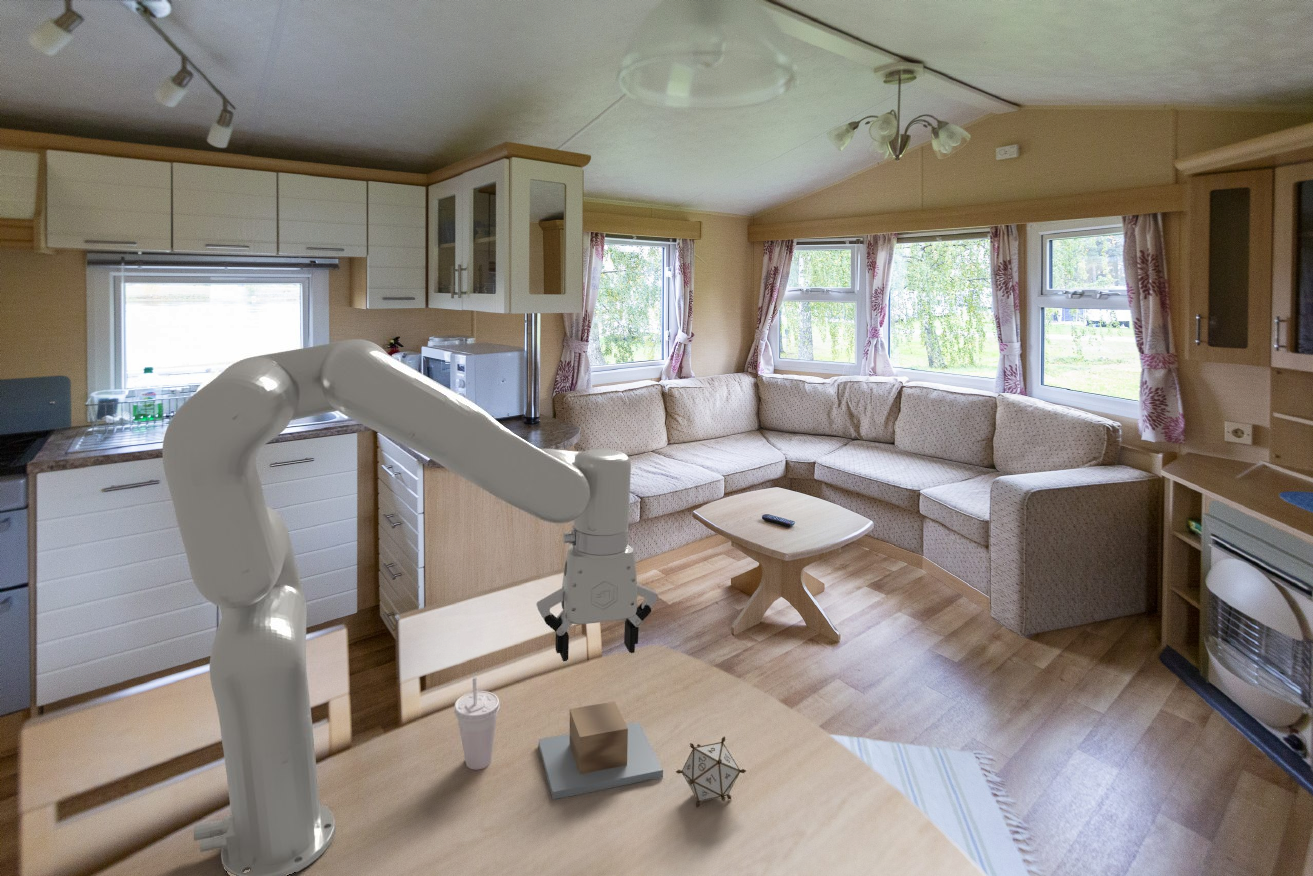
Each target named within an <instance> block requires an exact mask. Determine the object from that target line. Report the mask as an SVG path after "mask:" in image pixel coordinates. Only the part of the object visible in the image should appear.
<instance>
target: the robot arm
mask: <svg viewBox="0 0 1313 876" xmlns="http://www.w3.org/2000/svg"><path fill="white" fill-rule="evenodd" d="M337 411H338V412H339V413H340V414H341V415H344V416H346V417H347V418H349V419H351V420H353V421H355V422H357V423H359V424H361V425H363V426H365V427H367V428H369V429H370V430H373V431H374V432H377V433H379V434H380V435H381V434H382V435H383V436H385V437H386V438H389V439H391V440H393V441H395V442H396V443H399V444H401V445H403V446H405V447H407V448H408V449H411V450H413V451H415V452H417V453H419V454H421V455H422V456H425V457H427V458H428V459H431V460H432V461H433V462H435V463H437V464H439V465H440V466H442V467H443V468H445V469H446V470H448V471H450V472H451V473H453V474H455V475H457V476H459V477H461V478H463V479H465V480H466V481H469V483H472V484H473V485H475V486H477V487H478V488H480V489H482V490H483V491H485V492H487V493H489V494H491V495H492V496H494V497H496V498H498V499H499V500H501V501H503V502H505V503H507V504H509V505H511V506H513V507H515V508H517V509H518V510H521V511H523V512H525V513H527V514H529V515H531V516H533V517H535V518H536V519H539V520H541V521H544V522H546V523H550V524H556V525H557V524H560V525H561V524H567V523H570V522H572V521H573V525H572V526H571V527H572V529H571V531H568V532H566V533H563V534H562V542H563V544H569V545H570V546H568V551H567V554H566V557H565V561H564V563H565V564H564V568H563V574H562V585H561V587H560V588H559V589H558V590H555V591H554V592H552V593H551V594H549V595H547V596H545V597H544V598H542V599H540V600H539V601H537V602H536V607H537V610H538V612H539V614H540V615H541V618H542V619H543V621H544V623H545V624H546V625H547V626H549V628H550V629H552V630H553V631H554V632H555V647H554V648H555V652H556V654H559V655H560V657H561V660H562V661H563V662H567V661H568V660H569V647H570V646H569V645H570V643H569V641H570V640H569V639H570V635H569V633H568V630H569V629H570V627H571V626H573V624H574V625H587V624H597V623H598V624H599V623H605V622H606V623H607V622H617V621H624V634H623V635H624V637H623V644H624V646H625V647H626V649H627V651H628V653H630V654H635V652H636V651H635V650H636V645H638V644H639V630H640V629H639V628H640V627H641V626H642V625H643V621H644V620H645V619H646V618H647V617H648V616H649V615H650V614H651V613H652V609H653V607H654V606H655V604H656V602H657V600H658V599H659V595H658V593H657V592H656V591H655V590H654V589H651V588H649V587H647V586H644V585H641V584H640V583H638V581H637V578H638V577H637V565H636V556H635V552H634V548H633V547H632V546H631V545H630V544H629V542H628V541H629V523H630V522H629V521H630V520H629V519H630V518H629V517H630V498H631V497H630V496H631V474H632V473H631V472H632V463H631V459H630V458H629V456H628V455H627V454H626V453H625V452H622V451H619V450H616V449H610V448H593V449H588V450H584V451H581V450H580V451H577V450H565V449H557V448H538V447H536V446H535V445H533V444H531V442H528V441H526V440H525V439H524V438H521V437H520V436H518V435H517V434H515V433H514V432H513V431H511V430H510V429H508V428H506V427H505V426H504V425H503V424H501V423H500V422H499V421H498V420H496V419H495V418H494V417H493V416H491V414H489V413H488V412H487V411H486V410H485V409H483V407H480V406H479V405H477V404H476V403H474V402H473V401H472V400H470V399H469V398H467V397H466V396H463V395H461V394H459V393H457V392H455V391H454V390H452V389H451V388H449V387H446V386H444V385H443V384H441V383H439V382H437V381H435V380H434V379H432V378H430V377H428V376H427V375H426V374H423V373H421V372H419V371H418V370H416V369H415V368H413V367H412V366H409V365H408V364H406V363H404V362H402V361H400V360H399V359H397V358H395V357H393V356H392V355H390V354H388V353H387V352H386V351H385V350H384V349H383V348H382V347H381V346H380V345H378V344H376V343H374V342H372V341H369V340H366V339H360V338H352V339H345V340H339V341H336V342H335V341H334V342H330V343H326V344H325V343H324V344H321V345H315V346H314V345H313V346H308V347H302V348H298V349H297V348H296V349H293V350H291V349H290V350H285V351H280V352H275V353H266V354H262V355H257V356H251V357H246V358H243V359H241V360H239V361H237V362H235V363H233V364H231V365H229V366H228V367H227V368H226V369H224V370H223V371H222V372H221V373H219V374H218V375H217V376H216V377H215V378H214V379H212V380H211V381H210V382H208V384H206V385H204V386H203V387H202V388H200V389H199V390H198V391H197V392H195V393H194V394H193V395H192V396H190V398H188V399H187V400H186V401H185V402H184V403H183V404H182V405H181V406H180V407H179V408H178V409H177V411H175V413H174V414H173V416H172V417H171V420H170V421H169V423H168V424H167V425H168V426H167V428H166V431H165V434H164V437H163V440H162V464H163V469H164V470H163V471H164V474H165V478H166V481H167V486H168V490H169V493H170V495H171V496H170V497H171V501H172V504H173V508H174V514H175V517H176V521H177V524H178V525H177V526H178V529H179V533H180V537H181V539H182V543H183V547H184V551H185V553H186V559H187V563H188V566H189V571H190V575H191V577H192V580H193V584H194V586H195V588H197V589H196V590H198V592H199V594H200V595H201V596H202V597H203V598H204V599H205V600H206V601H208V602H209V603H211V604H213V605H215V606H217V607H219V609H220V613H221V619H220V622H219V625H218V627H217V630H216V632H215V636H214V639H213V643H212V646H211V650H210V651H211V652H210V657H209V680H210V685H211V690H212V693H213V697H214V702H215V706H216V710H217V715H218V721H219V728H220V736H221V744H222V749H223V758H224V765H225V773H226V782H227V789H228V791H227V792H228V799H229V806H230V815H229V814H228V815H225V816H224V819H220V820H216V821H215V820H214V821H213V820H210V821H206V822H199V823H196V824H195V825H194V830H193V841H194V842H199V841H200V843H199V851H200V853H204V852H208V851H213V850H217V849H220V848H221V853H220V854H221V855H220V858H221V865H222V864H223V866H224V867H225V869H226V870H227V871H228V872H230V873H231V874H234V875H236V876H286V875H287V874H291V873H294V872H296V873H298V872H300V871H301V870H303V869H305V868H306V867H308V866H310V865H311V864H312V863H314V861H316V860H317V859H319V857H321V856H322V855H323V853H324V852H325V851H326V850H327V848H328V847H329V845H330V844H331V843H332V841H333V838H334V836H335V832H336V821H335V816H334V814H333V812H332V811H331V809H330V808H329V807H327V806H326V805H325V804H323V803H321V802H320V797H319V783H318V773H317V772H318V771H317V762H316V750H315V739H314V728H313V719H312V708H311V700H310V689H309V681H308V673H307V655H306V654H307V651H306V646H307V645H306V642H307V641H306V640H307V620H308V619H307V617H308V613H307V612H308V610H307V608H308V607H307V602H306V596H305V593H304V589H303V585H302V582H301V581H302V580H301V576H300V573H299V569H298V564H297V560H296V556H295V553H294V548H293V544H292V540H291V537H290V533H289V529H288V528H287V524H286V523H285V521H284V520H283V518H282V517H281V516H280V514H279V513H278V512H277V511H276V510H275V509H274V508H272V507H270V506H268V505H266V500H265V497H264V492H263V486H262V482H261V479H260V476H259V472H258V470H257V463H256V461H257V460H256V459H257V456H258V453H259V452H260V450H261V449H262V448H263V447H264V446H265V445H267V444H268V443H269V442H271V441H272V440H274V439H275V438H277V437H278V436H279V435H280V434H282V433H283V431H285V430H286V428H288V426H289V424H291V423H290V422H291V421H295V420H296V421H297V420H300V419H305V418H309V417H315V416H320V415H324V414H328V413H334V412H337ZM638 596H639V597H642V598H644V599H643V602H641V603H640V604H639V606H638ZM560 603H561V609H562V610H561V612H560V613H559V614H558V615H557V616H556V615H554V614H553V613H552V612H551V611H550V610H551V609H552V608H553V607H554V606H556V605H558V604H560ZM223 866H222V867H223ZM249 869H250V871H249V872H247V873H243V872H244V871H245V870H249ZM294 874H295V873H294Z"/></svg>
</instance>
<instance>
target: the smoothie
mask: <svg viewBox="0 0 1313 876" xmlns="http://www.w3.org/2000/svg"><path fill="white" fill-rule="evenodd" d="M477 683H478V682H477V677H476V676H473V677H472V692H467V693H465V694H463V695H462V696H460V697H459V698H457V700H456V701H455V702H454V709H453V710H454V712H453V713H454V715H455V716H456V718H457V721H458V727H459V733H460V738H461V744H462V750H463V754H464V755H463V756H464V761H465V765H466V767H467V768H468V769H470V770H473V771H474V770H476V771H478V770H482V769H485V768H487V767H488V766H489V765H490V764H491V763H492V761H493V760H492V758H493V752H494V751H493V750H494V744H495V743H494V741H495V732H496V723H497V722H496V721H497V714H498V712H499V710H500V707H501V705H500V699H499V697H498V696H497V695H496V694H495V693H493V692H490V691H486V690H478V688H477V687H478V685H477Z"/></svg>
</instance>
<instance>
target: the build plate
mask: <svg viewBox="0 0 1313 876" xmlns="http://www.w3.org/2000/svg"><path fill="white" fill-rule="evenodd" d="M625 724H626V726H627V728H628V746H627V765H625V766H620V767H615V768H610V769H605V770H600V771H595V772H590V773H585V774H580V773H579V770H578V768H577V765H576V762H575V759H574V756H573V753H572V750H571V747H570V733H566V734H560V735H555V736H549V737H542V738H538V748H539V752H540V756H541V759H542V764H543V768H544V771H545V775H546V779H547V783H548V785H549V786H548V787H549V790H550V793H551V797H552V800H558V799H562V798H567V797H572V796H578V795H581V794H587V793H591V792H592V793H593V792H597V791H602V790H606V789H611V788H612V789H613V788H617V787H621V786H627V785H630V784H635V783H642V782H646V781H651V780H656V779H660V778H664V769H663V767H662V765H661V763H660V761H659V758H658V757H657V755H656V753H655V750H654V748H653V747H652V745H651V743H650V741H649V739H648V737H647V735H646V732H645V731H644V729H643V727H642V725H641V723H640V721H634V722H628V723H625Z"/></svg>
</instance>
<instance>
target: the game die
mask: <svg viewBox="0 0 1313 876" xmlns="http://www.w3.org/2000/svg"><path fill="white" fill-rule="evenodd" d="M726 739H727V738H726V735H725V736H723V737H721V742H720V741H719V742H714V743H709V744H708V743H707V744H703V745H701V744H699V743H697V745H696V746H695V745H694V743H691V742H689V747H690V749H692V750H691V751H690V754H689V755H688V758H687V760H686V762H685V764H684V766H683V767H682V769H677V770H676V771H675V773H677V774H682V776H683V778H684V779H685V782H687V784H688V786H689V788H690V789H691V790H690V791H692V793H693V795H694V797H695V798H696V800H697V801H696V802H695V808H698V807H700V803H701V802H704V801H709V800H713V799H717V798H718V799H719V798H720V799H721V801H723V802H726V799H728V800H730V801H731V800H732V795H731V794H730V792H731V791H732V788H733V787H734V785H735V784H736V783H735V782H736V781H737V779H738V777H739V776H740V773H741V774H745V773H746V772H747V770H746V769H745V768H742V769H740V767H739V766H738V765H737V763H736V761H735V759H734V757H733V756H732V754H731V753H730V751H729V749H728V748H727V746H726V745H725V743H724V742H726ZM726 797H727V798H726Z"/></svg>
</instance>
